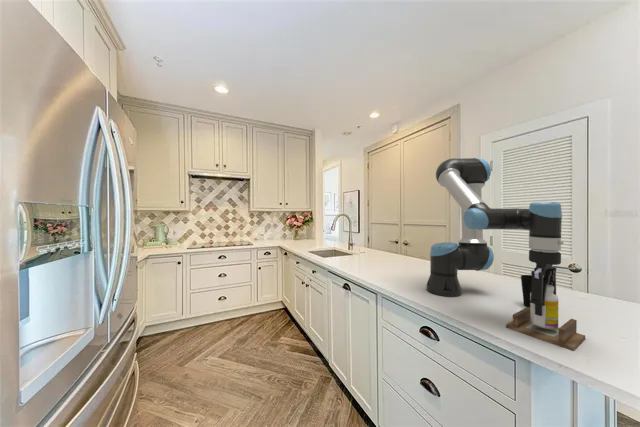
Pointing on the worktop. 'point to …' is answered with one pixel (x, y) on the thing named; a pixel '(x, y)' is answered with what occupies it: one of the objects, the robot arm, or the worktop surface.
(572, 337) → the holder
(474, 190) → the robot arm
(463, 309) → the worktop surface
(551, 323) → the supplement bottle
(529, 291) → the cup
